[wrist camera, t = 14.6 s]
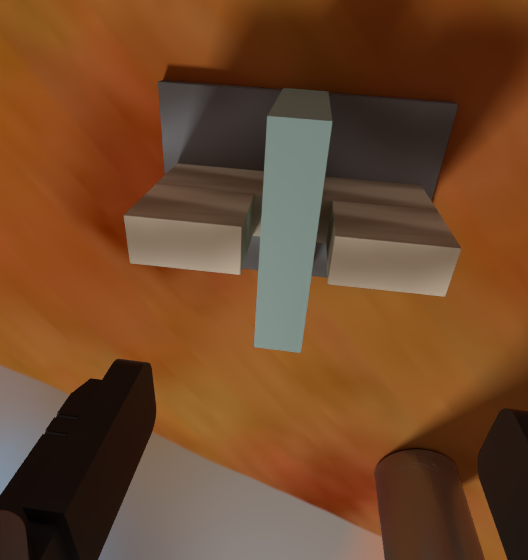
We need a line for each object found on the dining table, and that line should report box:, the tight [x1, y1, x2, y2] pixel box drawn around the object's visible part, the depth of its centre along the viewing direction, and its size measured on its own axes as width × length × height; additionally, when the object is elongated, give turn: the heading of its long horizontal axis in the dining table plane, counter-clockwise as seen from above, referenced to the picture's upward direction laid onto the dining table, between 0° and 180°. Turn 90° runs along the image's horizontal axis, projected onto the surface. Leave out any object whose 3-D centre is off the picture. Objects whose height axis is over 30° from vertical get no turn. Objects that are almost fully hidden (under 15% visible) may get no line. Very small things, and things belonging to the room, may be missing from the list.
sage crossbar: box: [254, 88, 332, 353], centre depth 27 cm, size 14×3×10 cm, turn 177°
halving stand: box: [124, 80, 461, 297], centre depth 28 cm, size 14×20×11 cm
